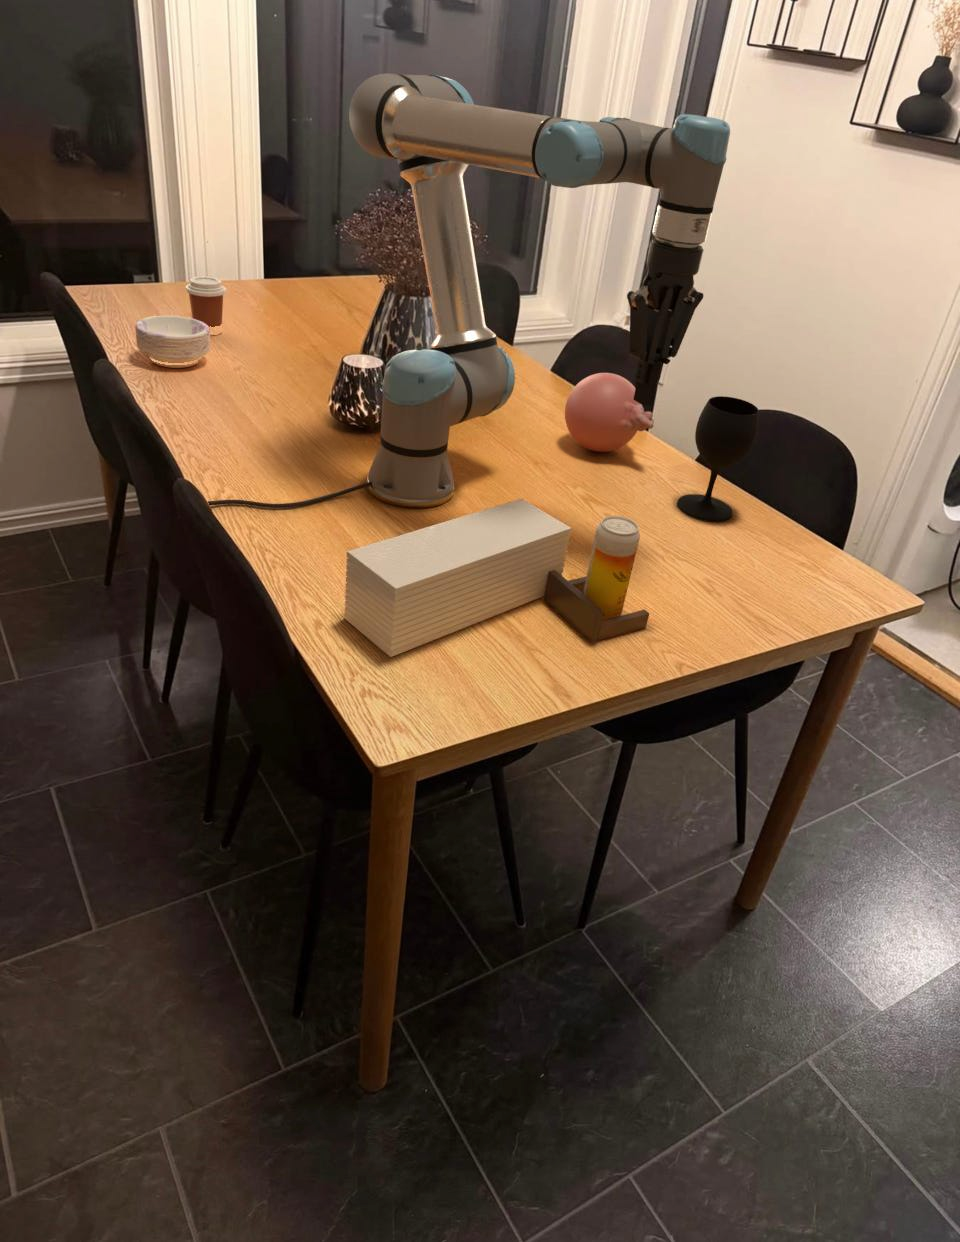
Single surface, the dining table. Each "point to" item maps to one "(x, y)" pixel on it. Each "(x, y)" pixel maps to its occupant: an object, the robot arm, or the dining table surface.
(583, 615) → the brown wooden u-shaped frame
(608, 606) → the beer can
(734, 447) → the wine glass
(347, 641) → the dining table surface
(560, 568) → the stack of papers
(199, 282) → the coffee cup
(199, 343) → the paper bowls
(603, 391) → the balloon
